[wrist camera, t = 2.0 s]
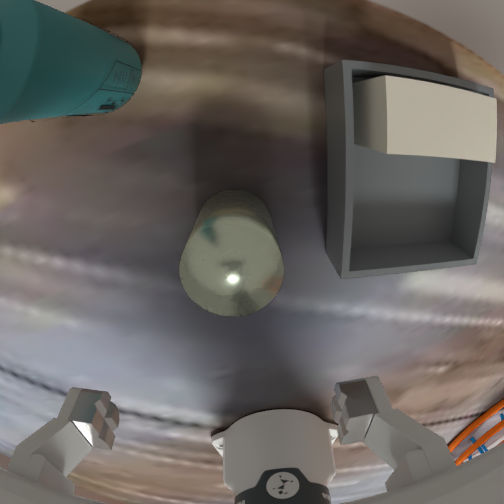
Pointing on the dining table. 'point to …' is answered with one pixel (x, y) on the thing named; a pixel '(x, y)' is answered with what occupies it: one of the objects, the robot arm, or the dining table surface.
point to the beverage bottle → (60, 64)
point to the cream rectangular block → (424, 119)
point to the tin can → (232, 256)
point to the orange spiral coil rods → (482, 439)
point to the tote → (397, 190)
